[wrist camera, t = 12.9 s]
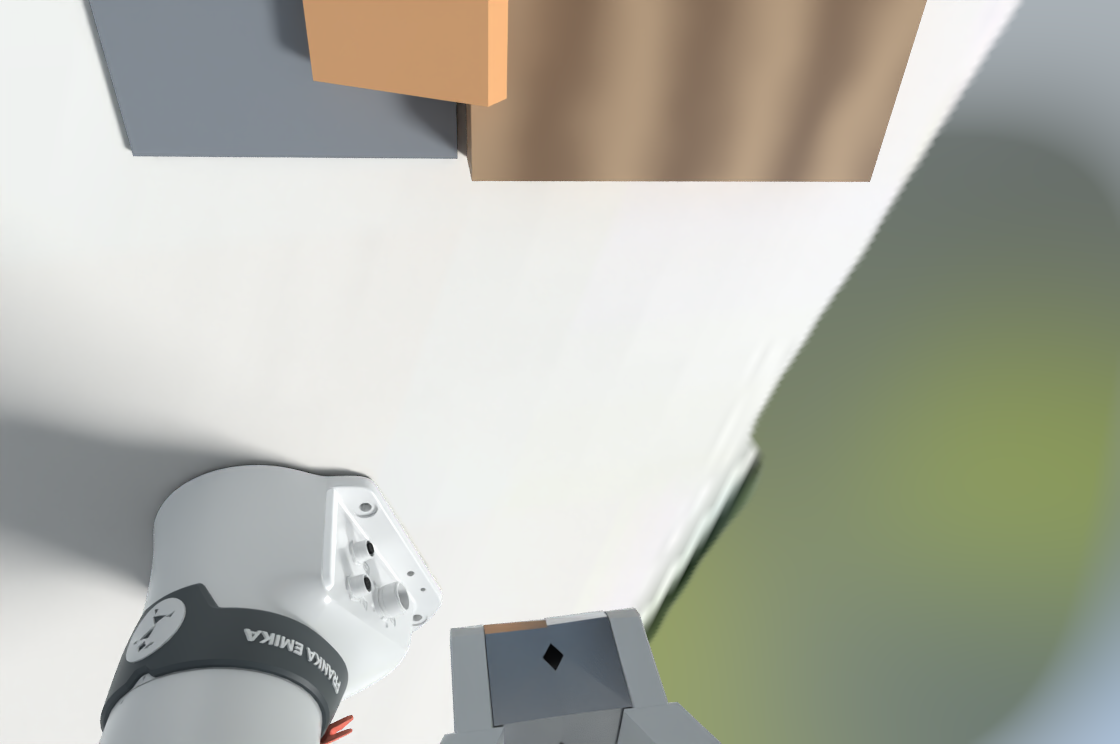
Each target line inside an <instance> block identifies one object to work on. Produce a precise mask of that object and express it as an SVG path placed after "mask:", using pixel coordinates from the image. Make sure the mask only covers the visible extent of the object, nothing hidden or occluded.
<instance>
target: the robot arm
mask: <svg viewBox="0 0 1120 744" xmlns="http://www.w3.org/2000/svg"><path fill="white" fill-rule="evenodd" d="M363 503H368V504H367V505H365V504H363ZM153 538H154V547H153V562H152V570H151V576H150V582H149V588H148V593H147V598H146V603H145V607H144V611H143V615H142V616H141V618H140V620H139V622H138V624H137V626H136V627H135V629H134V631H133V633H132V635H131V637H130V639H129V641H128V643H127V646H126V648H125V650H124V652H123V654H122V657H121V660H120V662H119V665H118V668H117V670H116V673H115V676H114V678H113V681H112V684H111V687H110V690H109V693H108V695H107V698H106V701H105V704H104V707H103V710H102V713H101V720H100V723H101V729H102V732H103V734H102V736H101V739H100V741H99V744H329V743H331V742H333V741H335V740H337V739H339V738H341V737H343V736H345V735H347V734H349V733H351V732H352V729H347V730H344V731H341V732H338V733H336V732H337V731H339V730H341V729H343V728H344V727H345V726H346V725H347V724H348V723H349V722H351V721H352V720H353V716H352V715H350V716H347V717H345V718H343V719H341V720H338V721H336V722H334V723H332V724H330V723H331V721H332V719H333V717H334V715H335V713H336V710H337V708H338V706H339V704H340V702H341V701H343V700H345V699H347V698H349V697H351V696H353V695H354V694H356V693H358V692H360V691H362V690H364V689H366V688H368V687H370V686H371V685H373V684H375V683H377V682H378V681H380V680H381V679H383V678H384V677H386V676H387V675H388V674H389V673H391V672H392V671H393V670H394V669H395V668H396V667H397V666H398V665H399V664H400V663H401V662H402V660H403V659H404V658H405V656H406V654H407V652H408V649H409V647H410V643H411V636H412V633H413V632H414V631H416V630H417V629H419V628H420V627H421V626H423V625H424V624H425V623H426V622H427V621H428V620H429V619H430V618H431V617H432V616H433V615H434V614H435V613H436V612H437V610H438V609H439V608H440V606H441V604H442V597H443V593H442V591H441V589H440V587H439V585H438V584H437V582H436V580H435V579H434V577H433V575H432V574H431V572H430V571H429V569H428V567H427V566H426V564H425V562H424V561H423V559H422V558H421V556H420V554H419V553H418V551H417V550H416V548H415V546H414V545H413V543H412V541H411V540H410V538H409V537H408V535H407V533H406V532H405V530H404V529H403V527H402V525H401V524H400V522H399V521H398V519H397V517H396V516H395V514H394V512H393V511H392V509H391V508H390V506H389V504H388V503H387V501H386V500H385V498H384V496H383V495H382V493H381V491H380V490H379V488H378V487H377V485H376V484H375V483H374V482H373V481H372V480H371V479H369V478H366V477H362V476H327V477H326V476H319V475H315V474H311V473H307V472H303V471H299V470H295V469H291V468H285V467H279V466H269V465H245V466H235V467H229V468H224V469H219V470H216V471H212V472H209V473H206V474H203V475H201V476H199V477H196V478H194V479H192V480H190V481H189V482H187V483H185V484H184V485H182V486H181V487H179V488H178V489H177V490H175V491H174V492H173V493H172V494H171V495H170V496H169V497H168V498H167V499H166V500H165V501H164V503H163V504H162V506H161V507H160V509H159V511H158V513H157V516H156V518H155V522H154V530H153ZM450 649H451V669H452V690H453V710H454V731H455V733H451V734H446V735H444V737H443V739H442V741H441V743H440V744H721V743H720V742H719V741H718V740H717V739H716V738H715V737H714V736H713V735H712V734H711V733H710V732H708V730H707V729H705V728H704V727H703V726H702V725H701V724H700V723H699V722H698V721H697V720H696V719H695V718H694V717H693V716H692V715H691V714H689V713H688V712H687V711H686V710H685V709H684V708H683V707H682V706H681V705H680V704H679V703H678V702H673V703H668V701H667V697H666V694H665V691H664V688H663V685H662V682H661V679H660V676H659V673H658V670H657V667H656V663H655V660H654V657H653V654H652V651H651V648H650V645H649V642H648V639H647V636H646V633H645V630H644V626H643V623H642V620H641V617H640V614H639V613H638V612H637V610H636V609H635V608H626V609H619V610H611V611H595V612H587V613H580V614H572V615H565V616H557V617H549V618H544V619H540V620H530V621H520V622H510V623H500V624H490V625H483V626H482V625H477V626H468V627H460V628H451V630H450ZM335 733H336V734H335Z"/></svg>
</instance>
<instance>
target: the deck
mask: <svg viewBox="0 0 1120 744" xmlns="http://www.w3.org/2000/svg"><path fill="white" fill-rule="evenodd" d="M926 2H927V0H508V46H507V99H504V100H502V101H500V102H498V103H496V104H493V105H491V106H489V107H485V106H479V105H472V104H466V127H467V160H468V164H469V169H470V174H471V178H472V181H795V182H870V180H871V177H872V173H873V170H874V167H875V164H876V161H877V157H878V154H879V151H880V148H881V145H882V142H883V138H884V135H885V132H886V129H887V126H888V122H889V119H890V116H891V113H892V110H893V107H894V103H895V100H896V97H897V94H898V91H899V87H900V84H901V81H902V78H903V75H904V72H905V68H906V65H907V62H908V59H909V56H910V52H911V49H912V46H913V43H914V40H915V37H916V33H917V30H918V27H919V24H920V21H921V17H922V14H923V11H924V8H925V5H926Z"/></svg>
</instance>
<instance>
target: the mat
mask: <svg viewBox="0 0 1120 744" xmlns="http://www.w3.org/2000/svg"><path fill="white" fill-rule="evenodd" d="M89 2H90V6H91V9H92V13H93V16H94V20H95V23H96V27H97V30H98V34H99V37H100V41H101V44H102V48H103V51H104V55H105V58H106V62H107V65H108V69H109V73H110V76H111V80H112V83H113V87H114V90H115V94H116V97H117V101H118V104H119V108H120V111H121V115H122V118H123V122H124V125H125V129H126V132H127V136H128V139H129V143H130V146H131V150H132V153H133V156H181V157H312V158H443V159H457V119H456V102H452V101H445V100H439V99H432V98H425V97H419V96H412V95H405V94H399V93H392V92H385V91H378V90H372V89H365V88H358V87H352V86H345V85H338V84H332V83H325V82H318V81H313V75H312V68H311V60H310V53H309V45H308V37H307V30H306V22H305V15H304V7H303V0H89Z"/></svg>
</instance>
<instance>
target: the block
mask: <svg viewBox="0 0 1120 744" xmlns="http://www.w3.org/2000/svg"><path fill="white" fill-rule="evenodd" d="M303 7H304V15H305V22H306V30H307V37H308V45H309V53H310V60H311V68H312V75H313V81H318V82H325V83H332V84H338V85H345V86H352V87H358V88H365V89H372V90H378V91H385V92H392V93H399V94H405V95H412V96H419V97H425V98H432V99H439V100H445V101H452V102H459V103H465V104H472V105H479V106H485V107H489V106H491V105H493V104H496V103H498V102H500V101H502V100H504V99H507V46H508V0H303Z"/></svg>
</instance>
